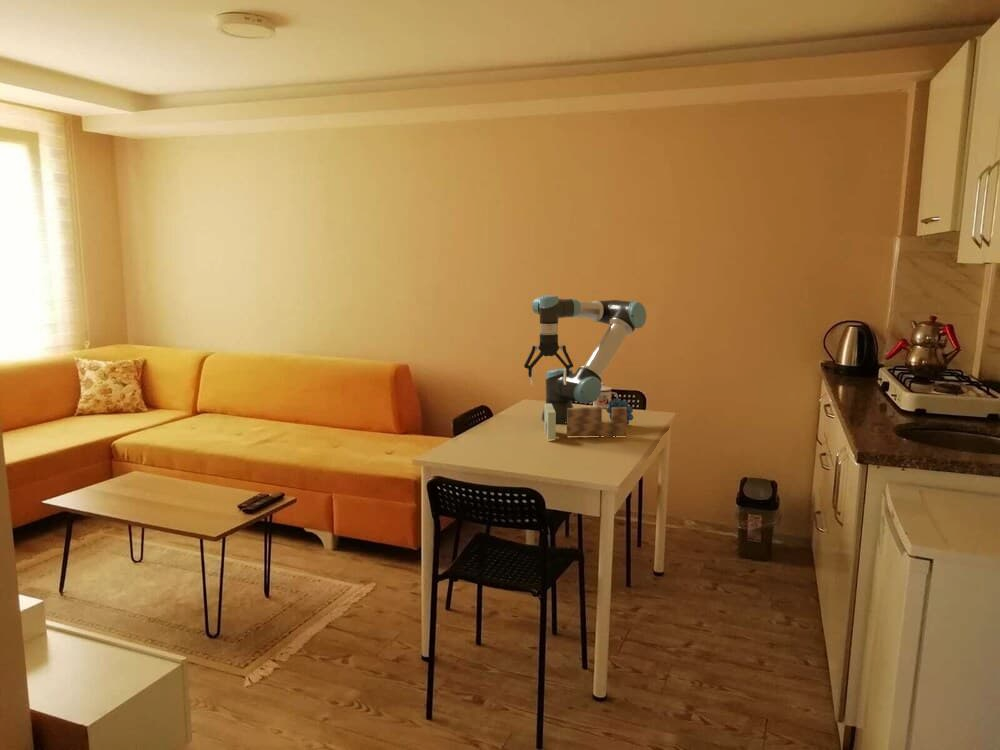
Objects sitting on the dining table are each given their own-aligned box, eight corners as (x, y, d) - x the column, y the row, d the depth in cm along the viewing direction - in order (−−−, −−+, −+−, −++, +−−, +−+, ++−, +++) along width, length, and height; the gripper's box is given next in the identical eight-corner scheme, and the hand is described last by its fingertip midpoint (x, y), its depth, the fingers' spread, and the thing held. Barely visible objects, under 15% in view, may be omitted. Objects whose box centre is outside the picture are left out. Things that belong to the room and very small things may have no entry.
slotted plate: (544, 431, 307) (544, 403, 304) (551, 431, 307) (551, 403, 305) (548, 441, 291) (548, 412, 289) (555, 441, 291) (555, 412, 289)
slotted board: (567, 438, 296) (568, 409, 293) (566, 436, 299) (567, 407, 296) (626, 437, 296) (627, 408, 294) (624, 435, 299) (625, 407, 297)
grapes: (604, 426, 314) (605, 399, 312) (607, 422, 321) (608, 396, 319) (631, 428, 311) (632, 401, 308) (633, 424, 317) (634, 397, 315)
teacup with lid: (591, 408, 349) (592, 384, 347) (593, 404, 357) (593, 381, 355) (616, 409, 346) (617, 385, 344) (618, 405, 355) (618, 381, 353)
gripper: (519, 335, 293) (519, 386, 297) (580, 334, 294) (579, 385, 298) (517, 332, 300) (518, 383, 304) (577, 332, 301) (577, 382, 305)
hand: (548, 384), depth 301 cm, fingers open, 13 cm apart
